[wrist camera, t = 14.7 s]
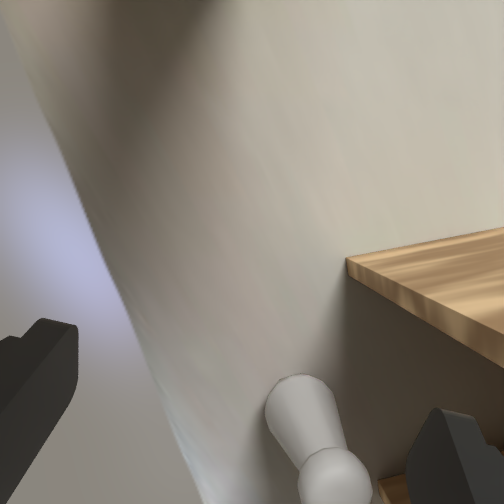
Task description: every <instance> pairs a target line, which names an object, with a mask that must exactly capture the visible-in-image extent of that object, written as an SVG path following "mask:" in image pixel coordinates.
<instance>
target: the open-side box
mask: <svg viewBox="0 0 504 504" xmlns="http://www.w3.org/2000/svg"><path fill="white" fill-rule="evenodd" d="M346 262H347V269H348V275H349V276H350V277H352V278H354V279H355V280H357V281H359V282H360V283H362V284H364V285H365V286H367V287H369V288H370V289H372V290H374V291H375V292H377V293H379V294H380V295H382V296H384V297H385V298H387V299H389V300H390V301H392V302H394V303H395V304H397V305H399V306H400V307H402V308H404V309H405V310H407V311H409V312H410V313H412V314H414V315H415V316H417V317H419V318H420V319H422V320H424V321H425V322H427V323H429V324H430V325H432V326H434V327H435V328H437V329H439V330H440V331H442V332H444V333H445V334H447V335H449V336H450V337H452V338H454V339H455V340H457V341H459V342H460V343H462V344H464V345H465V346H467V347H469V348H470V349H472V350H474V351H475V352H477V353H479V354H480V355H482V356H484V357H485V358H487V359H489V360H490V361H492V362H494V363H495V364H497V365H499V366H500V367H502V368H504V227H502V228H497V229H491V230H486V231H481V232H476V233H471V234H466V235H460V236H455V237H450V238H445V239H440V240H435V241H429V242H424V243H419V244H414V245H409V246H404V247H398V248H393V249H388V250H383V251H378V252H373V253H367V254H362V255H357V256H352V257H347V258H346ZM500 453H501V454H502V455H503V456H504V451H500ZM378 487H379V494H380V497H381V498H382V500H383V502H384V503H385V504H411V502H410V497H409V493H408V488H407V483H406V474H402V475H398V476H393V477H389V478H385V479H381V480H378Z"/></svg>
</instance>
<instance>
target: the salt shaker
mask: <svg viewBox="0 0 504 504" xmlns="http://www.w3.org/2000/svg"><path fill="white" fill-rule="evenodd" d="M265 418H266V421H267V424H268V427H269V430H270V431H271V433H272V434H273V435H274V437H275V438H276V439H277V441H278V442H279V444H280V445H281V446H282V448H283V449H284V451H285V452H286V453H287V455H288V456H289V458H290V459H291V460H292V462H293V463H294V465H295V466H296V467H297V469H298V470H299V472H300V474H299V478H298V483H297V487H298V491H299V495H300V498H301V502H302V504H370V503H371V499H372V495H373V490H372V485H371V481H370V477H369V474H368V470H367V469H366V467H365V466H364V464H363V463H362V462H361V461H360V460H359V459H358V458H357V457H356V456H355V455H354V454H353V453H352V452H350V451H348V448H347V444H346V440H345V436H344V432H343V428H342V425H341V421H340V417H339V413H338V409H337V405H336V401H335V397H334V393H333V392H332V391H331V390H330V389H329V388H328V387H327V386H326V385H325V383H324V382H323V381H322V380H320V379H317V378H315V377H312V376H309V375H307V374H301V373H300V374H296V375H293V376H290V377H286V378H283V379H280V380H279V381H278V383H277V384H276V386H275V387H274V388H273V390H272V391H271V392H270V394H269V395H268V398H267V403H266V407H265Z"/></svg>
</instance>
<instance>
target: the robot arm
mask: <svg viewBox="0 0 504 504" xmlns="http://www.w3.org/2000/svg"><path fill="white" fill-rule="evenodd" d="M77 381H78V328H77V326H76V325H72V324H67V323H63V322H58V321H54V320H50V319H45V318H41V319H39V320H37V321H36V323H34V324H33V326H32V327H31V328H30V329H29V330H28V331H27V332H26V333H25V334H24V335H23V336H22V337H21V338H18V337H14V336H9V337H6V338H5V339H3V340H1V341H0V504H6V503H7V501H8V500H9V498H10V497H11V495H12V493H13V492H14V490H15V489H16V487H17V486H18V484H19V482H20V481H21V479H22V478H23V476H24V474H25V473H26V471H27V470H28V468H29V467H30V465H31V463H32V462H33V460H34V459H35V457H36V456H37V454H38V452H39V451H40V449H41V448H42V446H43V445H44V443H45V441H46V440H47V438H48V437H49V435H50V434H51V432H52V430H53V429H54V427H55V426H56V424H57V422H58V421H59V419H60V418H61V416H62V415H63V413H64V411H65V410H66V408H67V407H68V405H69V403H70V401H71V399H72V397H73V395H74V392H75V389H76V385H77ZM406 483H407V488H408V493H409V497H410V502H411V504H504V456H503V455H502V454H501V453H500V451H499V450H498V449H497V448H496V447H495V446H491V445H487V444H486V442H485V439H484V437H483V435H482V432H481V430H480V428H479V425H478V423H477V421H476V420H475V418H474V417H473V416H471V415H467V414H463V413H458V412H454V411H449V410H445V409H440V408H434V409H433V410H432V411H431V412H430V414H429V416H428V418H427V420H426V421H425V423H424V425H423V427H422V429H421V431H420V433H419V435H418V437H417V438H416V440H415V442H414V444H413V446H412V448H411V450H410V452H409V454H408V457H407V462H406Z"/></svg>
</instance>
